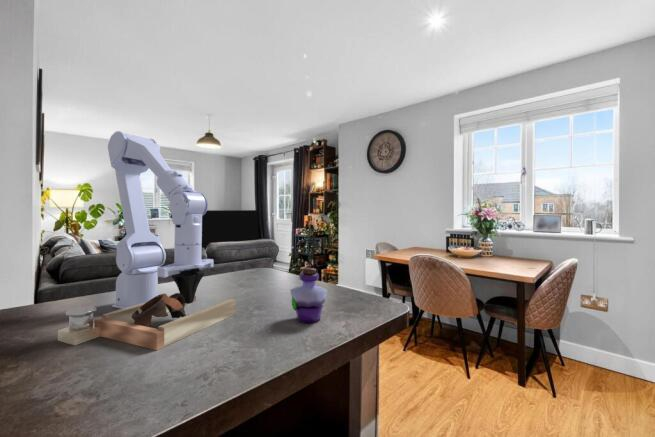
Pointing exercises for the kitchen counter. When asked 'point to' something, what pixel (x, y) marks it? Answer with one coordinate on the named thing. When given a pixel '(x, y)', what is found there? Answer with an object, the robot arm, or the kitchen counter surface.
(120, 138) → the robot arm
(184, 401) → the kitchen counter surface
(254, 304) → the kitchen counter surface
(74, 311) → the winch drum
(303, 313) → the potion bottle
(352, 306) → the kitchen counter surface
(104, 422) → the kitchen counter surface
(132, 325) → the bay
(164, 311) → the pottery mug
